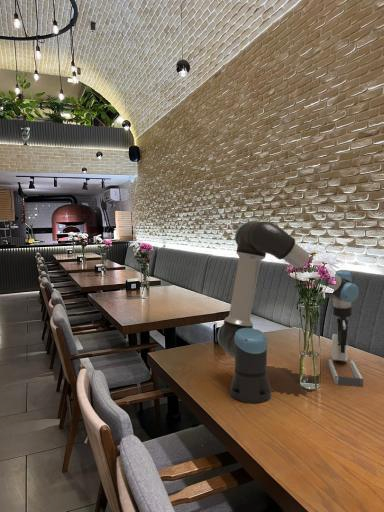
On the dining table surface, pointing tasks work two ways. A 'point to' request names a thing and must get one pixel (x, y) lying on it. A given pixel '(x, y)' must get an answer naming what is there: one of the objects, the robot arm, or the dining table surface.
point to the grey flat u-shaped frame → (347, 380)
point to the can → (336, 348)
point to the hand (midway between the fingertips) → (342, 359)
